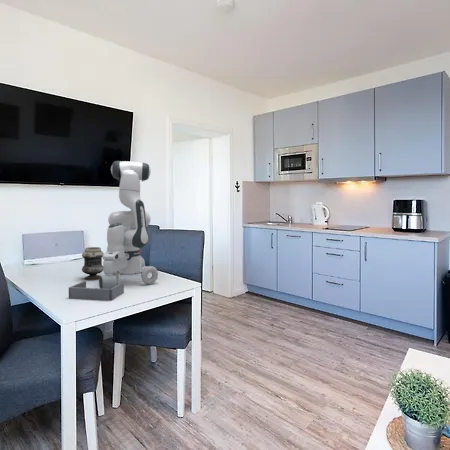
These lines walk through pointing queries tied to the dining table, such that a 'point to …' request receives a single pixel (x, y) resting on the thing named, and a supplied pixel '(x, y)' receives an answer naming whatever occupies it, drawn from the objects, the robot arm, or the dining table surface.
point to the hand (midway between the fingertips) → (116, 279)
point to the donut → (145, 273)
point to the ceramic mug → (108, 281)
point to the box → (95, 292)
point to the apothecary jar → (92, 262)
